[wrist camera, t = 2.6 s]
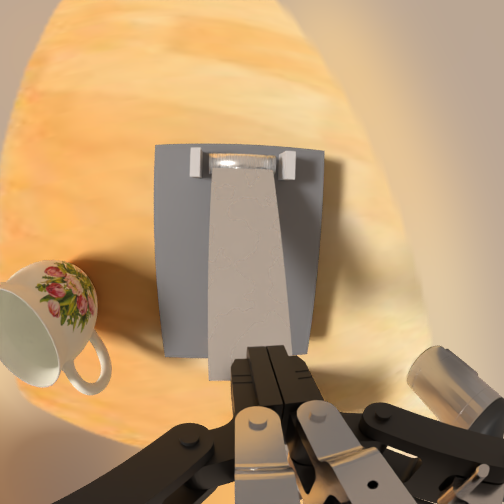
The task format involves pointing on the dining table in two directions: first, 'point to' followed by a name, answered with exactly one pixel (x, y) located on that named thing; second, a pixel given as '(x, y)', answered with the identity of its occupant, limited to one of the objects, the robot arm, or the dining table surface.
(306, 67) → the dining table surface
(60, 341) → the pitcher
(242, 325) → the metal hinged lever
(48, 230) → the dining table surface
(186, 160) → the block
